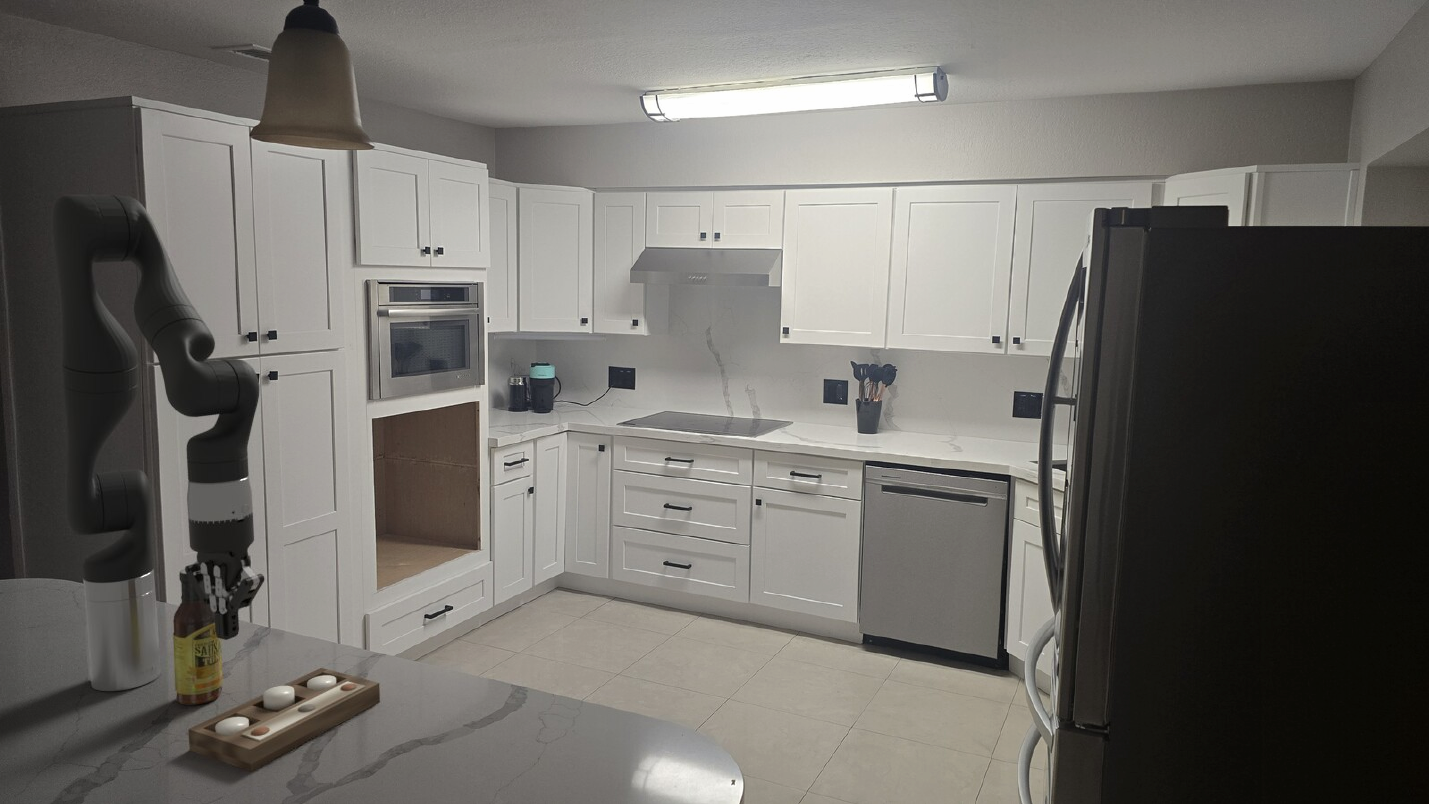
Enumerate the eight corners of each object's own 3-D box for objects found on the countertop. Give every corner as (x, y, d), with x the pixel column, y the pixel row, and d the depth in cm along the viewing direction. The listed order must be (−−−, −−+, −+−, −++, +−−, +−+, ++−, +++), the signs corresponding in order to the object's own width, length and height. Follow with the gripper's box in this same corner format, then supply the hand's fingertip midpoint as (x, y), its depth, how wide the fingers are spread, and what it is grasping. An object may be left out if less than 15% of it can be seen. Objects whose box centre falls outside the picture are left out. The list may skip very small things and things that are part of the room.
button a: (301, 696, 137) (301, 683, 137) (323, 685, 140) (322, 673, 140) (321, 701, 135) (320, 688, 135) (342, 690, 139) (341, 678, 139)
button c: (209, 740, 123) (208, 726, 123) (235, 728, 127) (235, 714, 127) (229, 747, 122) (228, 733, 121) (256, 734, 125) (255, 720, 125)
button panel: (189, 750, 123) (188, 726, 123) (322, 685, 143) (321, 665, 142) (251, 771, 118) (250, 746, 118) (379, 701, 138) (379, 680, 137)
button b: (257, 707, 130) (256, 694, 130) (281, 696, 134) (280, 683, 133) (277, 713, 128) (276, 700, 128) (301, 702, 132) (300, 688, 132)
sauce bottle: (202, 709, 135) (194, 578, 132) (165, 704, 136) (157, 575, 133) (234, 690, 141) (227, 565, 138) (198, 686, 142) (191, 562, 140)
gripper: (160, 511, 120) (168, 637, 122) (229, 524, 114) (236, 656, 117) (212, 499, 127) (219, 619, 129) (280, 511, 121) (286, 636, 124)
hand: (227, 636), depth 123 cm, fingers closed
